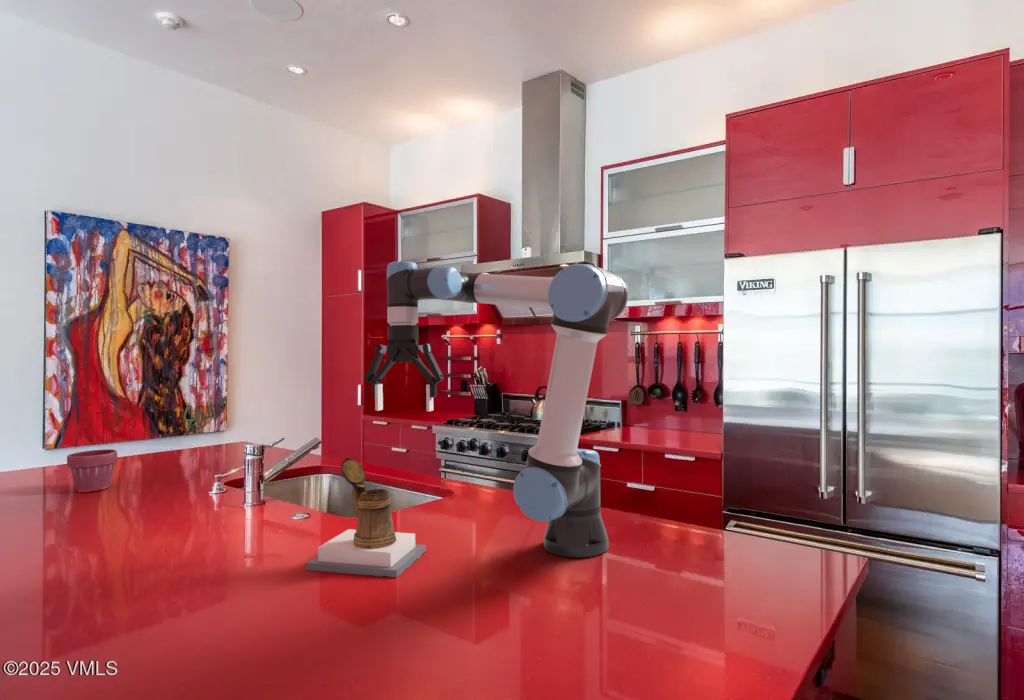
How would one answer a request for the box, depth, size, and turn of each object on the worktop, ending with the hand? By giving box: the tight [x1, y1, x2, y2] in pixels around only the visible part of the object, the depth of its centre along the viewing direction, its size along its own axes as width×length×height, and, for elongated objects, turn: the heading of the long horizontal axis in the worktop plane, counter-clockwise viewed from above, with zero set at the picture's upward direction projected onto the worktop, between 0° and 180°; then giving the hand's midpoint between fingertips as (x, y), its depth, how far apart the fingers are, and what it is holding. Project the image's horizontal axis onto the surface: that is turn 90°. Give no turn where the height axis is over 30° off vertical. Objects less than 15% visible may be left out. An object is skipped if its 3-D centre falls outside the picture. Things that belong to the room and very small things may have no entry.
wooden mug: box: [340, 456, 396, 548], centre depth 133 cm, size 9×14×18 cm, turn 57°
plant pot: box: [66, 448, 118, 490], centre depth 205 cm, size 14×14×13 cm
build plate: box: [305, 528, 427, 578], centre depth 133 cm, size 21×16×4 cm
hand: (404, 410), depth 148 cm, fingers open, 13 cm apart
